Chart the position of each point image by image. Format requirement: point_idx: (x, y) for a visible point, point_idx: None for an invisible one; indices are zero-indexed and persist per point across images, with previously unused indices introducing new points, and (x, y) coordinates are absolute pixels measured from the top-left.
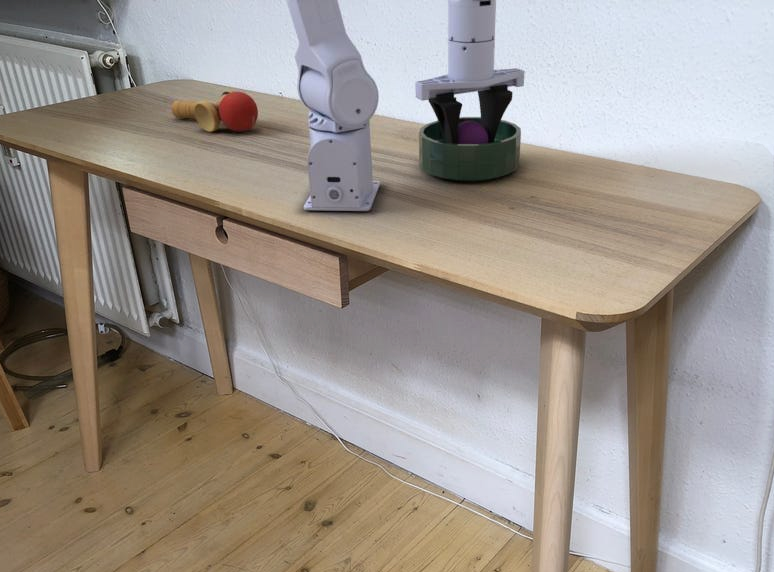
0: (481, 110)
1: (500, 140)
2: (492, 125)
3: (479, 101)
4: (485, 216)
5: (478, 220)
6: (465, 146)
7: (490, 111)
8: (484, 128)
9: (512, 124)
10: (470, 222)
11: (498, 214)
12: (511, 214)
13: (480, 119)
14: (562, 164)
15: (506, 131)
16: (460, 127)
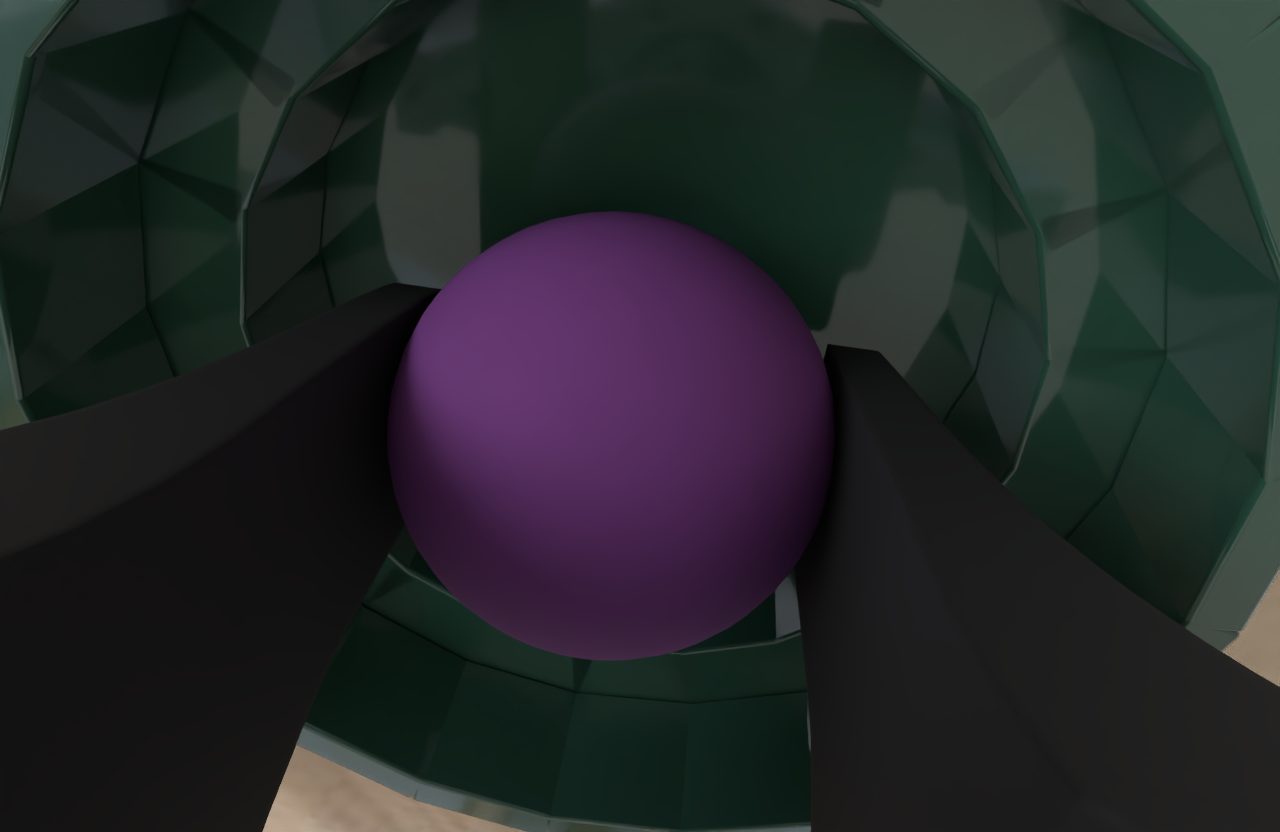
0: (909, 585)
1: (1052, 414)
2: (811, 697)
3: (962, 646)
4: (359, 793)
5: (316, 799)
6: (332, 758)
7: (835, 816)
8: (740, 618)
9: (1200, 626)
10: (279, 794)
11: (418, 806)
12: (467, 828)
13: (1211, 100)
14: (1270, 614)
15: (1172, 476)
16: (433, 555)
